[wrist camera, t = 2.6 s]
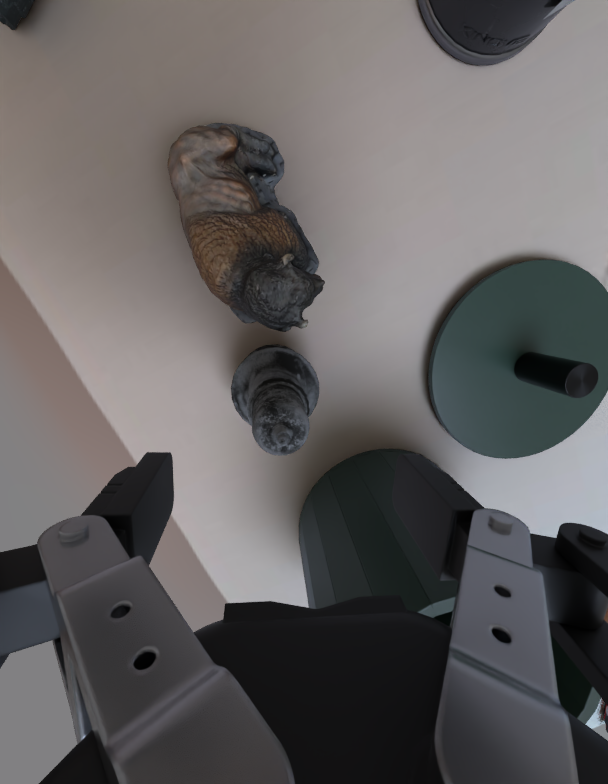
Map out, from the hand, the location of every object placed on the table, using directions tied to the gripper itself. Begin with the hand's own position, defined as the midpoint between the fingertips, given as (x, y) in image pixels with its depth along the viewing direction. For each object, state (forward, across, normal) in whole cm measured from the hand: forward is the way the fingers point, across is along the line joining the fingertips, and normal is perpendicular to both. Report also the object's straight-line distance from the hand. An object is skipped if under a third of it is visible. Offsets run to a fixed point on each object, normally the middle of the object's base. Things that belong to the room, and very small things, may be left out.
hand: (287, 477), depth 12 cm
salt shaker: (+15, 0, 0) cm, 15 cm away
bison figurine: (+15, +2, -10) cm, 18 cm away
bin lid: (+14, -20, -2) cm, 25 cm away
